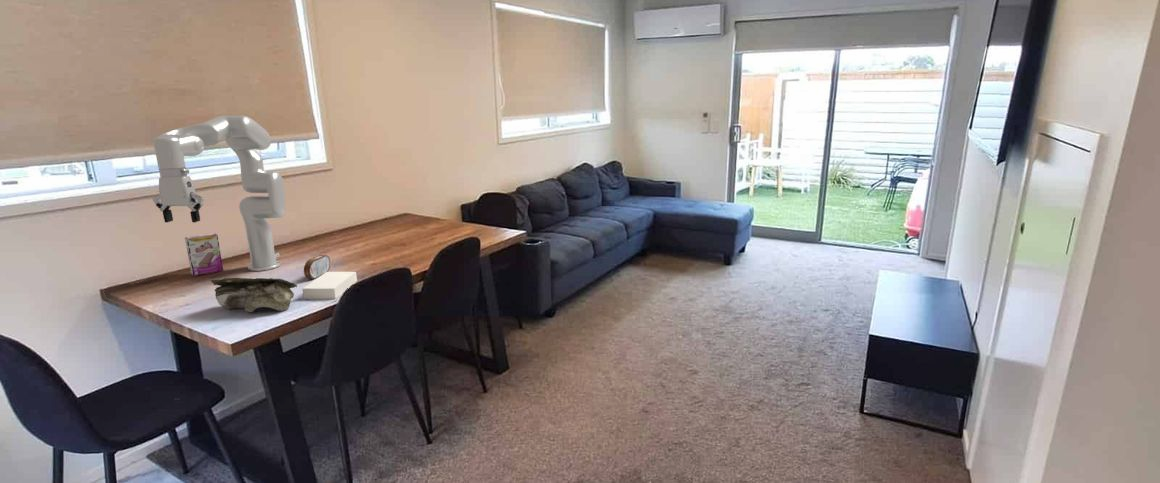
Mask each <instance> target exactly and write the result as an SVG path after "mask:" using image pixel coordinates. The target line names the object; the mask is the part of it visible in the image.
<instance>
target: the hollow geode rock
mask: <svg viewBox="0 0 1160 483" xmlns="http://www.w3.org/2000/svg"><path fill="white" fill-rule="evenodd" d="M210 282H211V284H213V286H216V285H217V286H216V287H215V289H214V292H215V299H216V301H217V303H218V305H219V306H220V307H221V308H224V309H227V310H232V309H233V310H234V309H237V308H240V309H244V310H245V312H249V313H250V312H251V313H254V311H255V310H256V309H258V308H259V309H260V308H270V309H273V310H276V311H278V312H283V311H286V310H288V309H289V308H290V305H291V300H292V299H293V298H294V297H295V294H294V292H293V291H292V289H294V288H297V287H298V284H296V283H294V282H290V281H289V280H285V279H282V278H271V277H270V278H264V277H263V278H262V277H256V278H249V277H248V278H247V277H233V278H232V277H228V278H227V277H226V278H225V277H224V278H223V279H222V278H221V279H210Z"/></svg>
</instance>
